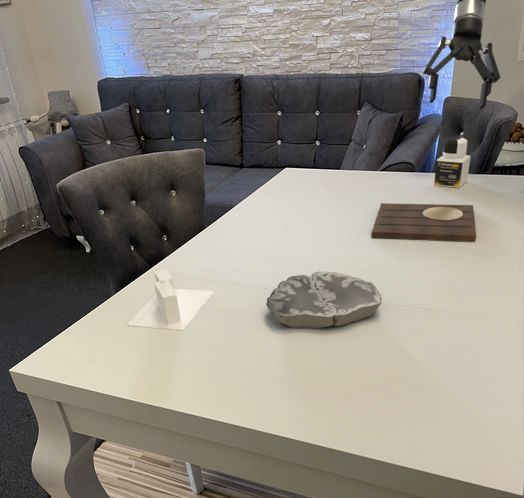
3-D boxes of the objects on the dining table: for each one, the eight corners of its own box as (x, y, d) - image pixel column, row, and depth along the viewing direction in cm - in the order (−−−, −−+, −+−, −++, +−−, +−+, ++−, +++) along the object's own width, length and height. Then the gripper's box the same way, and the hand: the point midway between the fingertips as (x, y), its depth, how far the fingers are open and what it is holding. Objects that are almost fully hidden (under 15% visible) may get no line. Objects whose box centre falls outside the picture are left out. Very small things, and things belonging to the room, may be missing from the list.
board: (472, 211, 130) (473, 204, 129) (475, 241, 114) (476, 234, 113) (380, 208, 136) (380, 202, 135) (371, 238, 120) (371, 230, 119)
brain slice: (358, 280, 103) (358, 266, 101) (391, 323, 89) (392, 307, 87) (258, 294, 101) (256, 280, 99) (275, 340, 86) (274, 324, 85)
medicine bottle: (433, 185, 149) (438, 140, 143) (442, 178, 154) (447, 135, 148) (459, 188, 146) (465, 142, 139) (467, 181, 150) (473, 136, 144)
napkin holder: (184, 330, 91) (179, 300, 88) (125, 325, 94) (118, 296, 91) (214, 291, 103) (211, 263, 100) (161, 287, 106) (156, 261, 103)
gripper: (507, 37, 147) (496, 115, 148) (417, 25, 146) (407, 103, 148) (520, 21, 139) (509, 104, 140) (426, 9, 139) (415, 92, 140)
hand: (457, 104), depth 144 cm, fingers open, 13 cm apart
